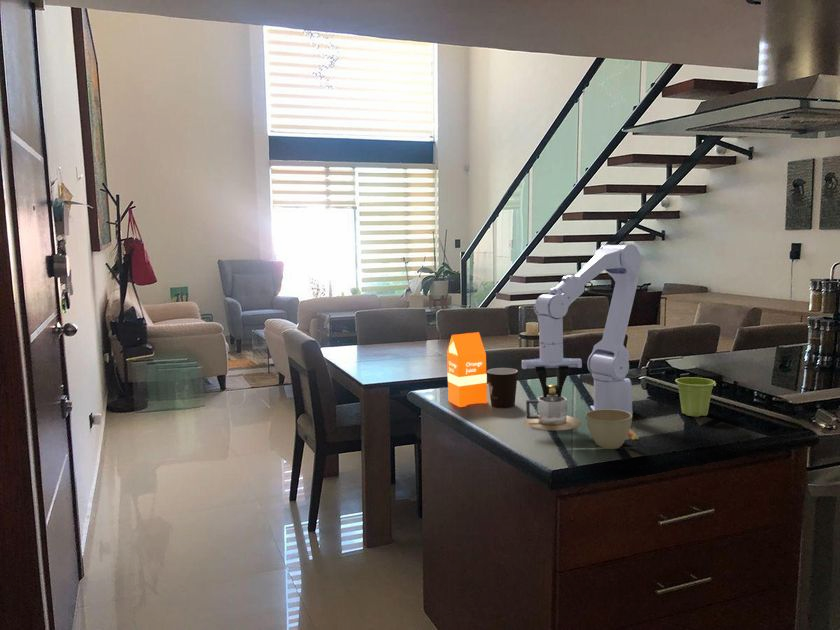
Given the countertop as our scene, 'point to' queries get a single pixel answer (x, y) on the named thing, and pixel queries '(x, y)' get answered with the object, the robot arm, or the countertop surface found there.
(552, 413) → the press carafe
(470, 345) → the orange juice
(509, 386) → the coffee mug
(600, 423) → the beige bowl
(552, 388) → the plunger
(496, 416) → the countertop surface
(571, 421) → the cork mat
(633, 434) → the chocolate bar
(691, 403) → the plant pot
